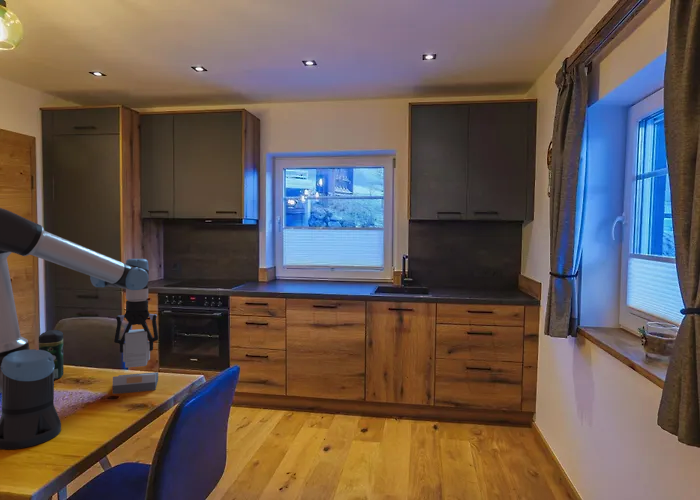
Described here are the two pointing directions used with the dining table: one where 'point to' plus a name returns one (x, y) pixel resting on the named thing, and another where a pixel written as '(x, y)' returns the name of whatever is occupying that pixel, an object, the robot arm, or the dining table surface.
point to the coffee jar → (53, 349)
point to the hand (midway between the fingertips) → (136, 359)
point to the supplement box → (136, 348)
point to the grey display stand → (135, 382)
